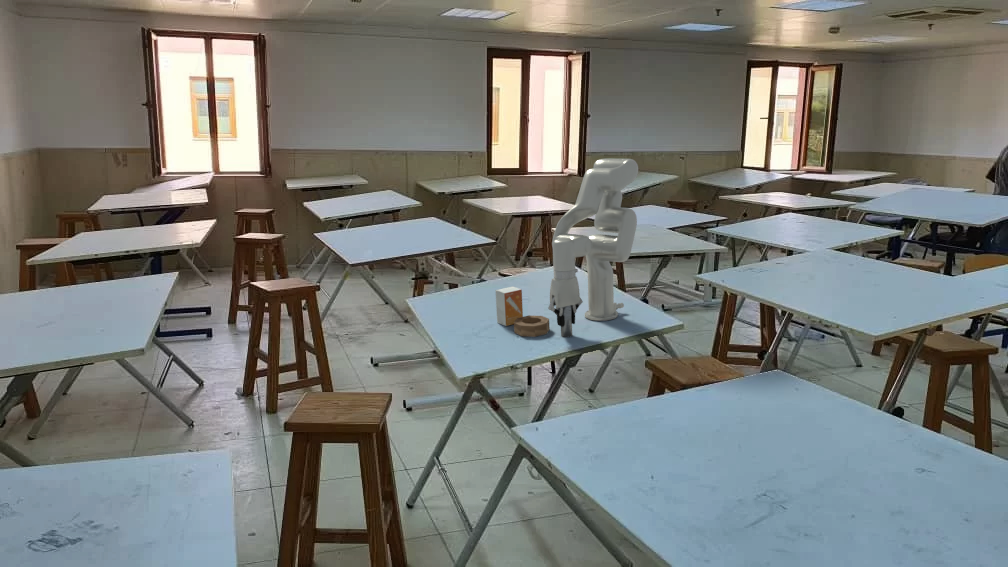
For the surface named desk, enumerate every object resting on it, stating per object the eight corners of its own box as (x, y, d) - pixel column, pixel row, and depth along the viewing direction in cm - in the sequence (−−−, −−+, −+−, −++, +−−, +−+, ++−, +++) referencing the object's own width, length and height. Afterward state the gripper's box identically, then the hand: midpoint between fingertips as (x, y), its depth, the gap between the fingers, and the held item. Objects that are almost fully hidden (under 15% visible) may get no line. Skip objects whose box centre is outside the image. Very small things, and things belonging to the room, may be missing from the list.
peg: (568, 332, 253) (566, 300, 250) (574, 335, 249) (573, 303, 246) (558, 335, 251) (557, 302, 248) (565, 338, 247) (564, 305, 244)
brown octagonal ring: (537, 323, 265) (536, 313, 264) (554, 331, 255) (554, 321, 254) (509, 330, 259) (508, 319, 258) (526, 338, 249) (526, 328, 248)
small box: (506, 326, 264) (504, 293, 260) (496, 322, 269) (494, 289, 265) (523, 322, 268) (522, 289, 264) (514, 318, 273) (512, 285, 270)
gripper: (577, 268, 251) (579, 317, 256) (538, 276, 243) (540, 326, 248) (590, 272, 245) (591, 322, 250) (550, 280, 237) (552, 332, 242)
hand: (566, 323), depth 249 cm, fingers closed on peg, 4 cm apart
